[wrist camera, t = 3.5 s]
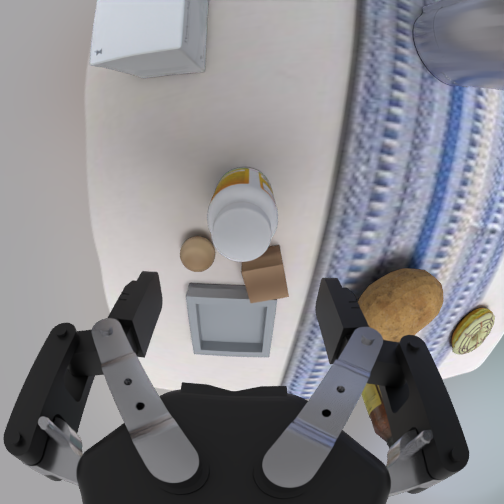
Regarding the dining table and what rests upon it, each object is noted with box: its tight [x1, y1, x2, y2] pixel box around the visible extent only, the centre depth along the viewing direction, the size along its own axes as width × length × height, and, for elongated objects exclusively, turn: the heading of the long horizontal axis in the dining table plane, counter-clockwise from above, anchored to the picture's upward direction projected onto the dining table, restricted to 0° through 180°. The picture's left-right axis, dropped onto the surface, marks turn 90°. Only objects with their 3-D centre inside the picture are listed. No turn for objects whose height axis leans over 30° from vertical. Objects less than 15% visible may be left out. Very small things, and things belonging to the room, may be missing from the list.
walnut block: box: [241, 245, 289, 303], centre depth 29 cm, size 4×4×4 cm
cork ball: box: [180, 236, 215, 272], centre depth 28 cm, size 4×4×4 cm
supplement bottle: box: [207, 167, 278, 262], centre depth 22 cm, size 5×5×10 cm
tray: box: [186, 283, 277, 357], centre depth 33 cm, size 10×10×2 cm
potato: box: [357, 268, 443, 342], centre depth 29 cm, size 10×14×8 cm
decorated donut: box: [452, 308, 495, 354], centre depth 37 cm, size 10×11×4 cm
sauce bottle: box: [362, 383, 394, 449], centre depth 31 cm, size 7×6×20 cm
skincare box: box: [90, 0, 209, 78], centre depth 13 cm, size 10×6×10 cm, turn 179°
